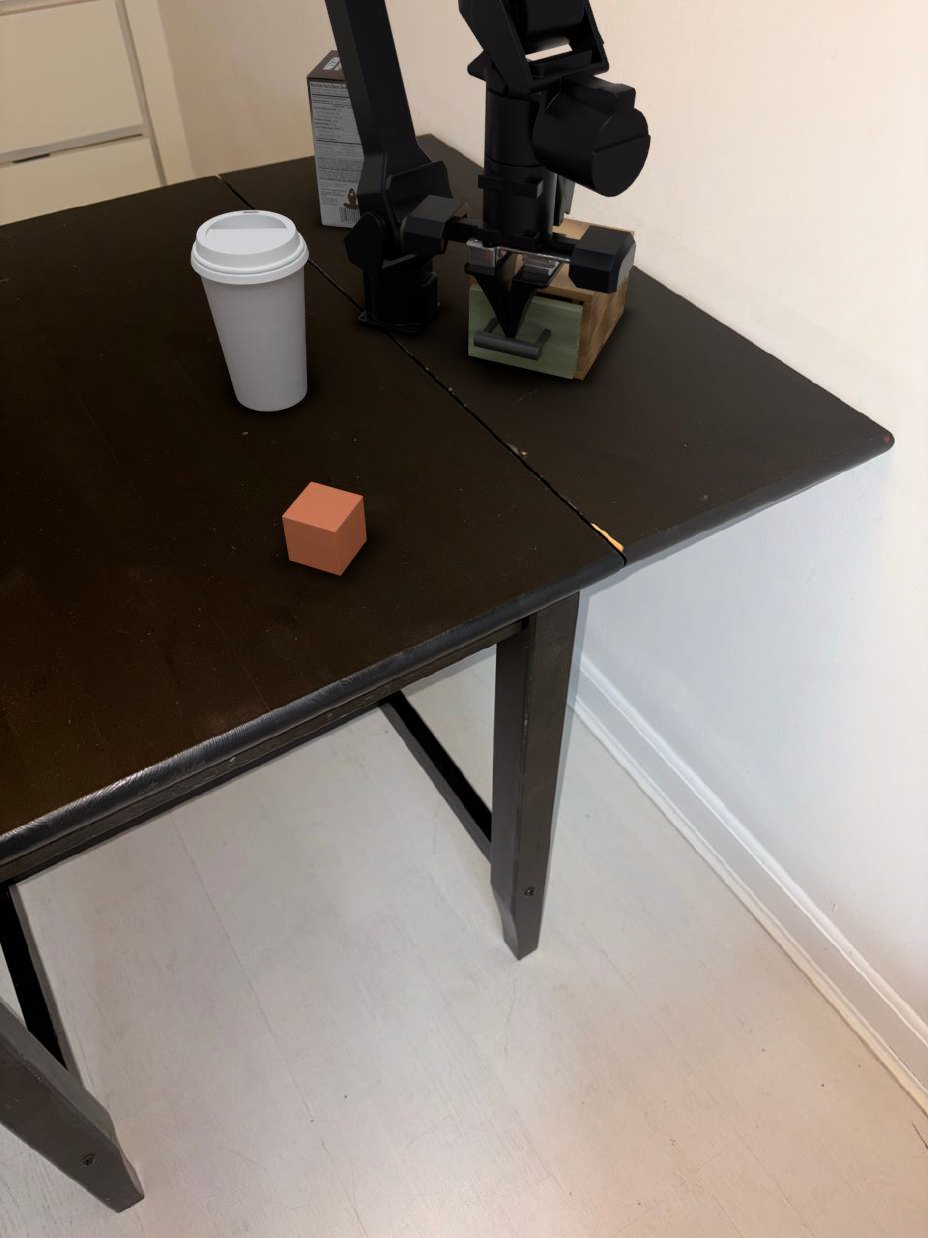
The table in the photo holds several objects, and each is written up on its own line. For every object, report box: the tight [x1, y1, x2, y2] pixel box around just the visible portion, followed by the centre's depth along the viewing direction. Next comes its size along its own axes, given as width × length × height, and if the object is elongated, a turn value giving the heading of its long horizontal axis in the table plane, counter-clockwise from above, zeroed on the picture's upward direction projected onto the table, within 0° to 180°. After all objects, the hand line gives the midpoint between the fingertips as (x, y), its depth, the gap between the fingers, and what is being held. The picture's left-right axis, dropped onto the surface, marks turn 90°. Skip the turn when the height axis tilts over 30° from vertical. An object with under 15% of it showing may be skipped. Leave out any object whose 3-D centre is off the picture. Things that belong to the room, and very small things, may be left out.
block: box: [281, 481, 368, 577], centre depth 71 cm, size 4×4×4 cm
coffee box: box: [305, 49, 364, 229], centre depth 108 cm, size 9×6×16 cm
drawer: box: [467, 283, 584, 380], centre depth 89 cm, size 17×10×7 cm, turn 157°
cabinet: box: [469, 217, 635, 381], centre depth 92 cm, size 14×12×9 cm
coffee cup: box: [190, 209, 310, 412], centre depth 82 cm, size 10×10×15 cm
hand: (512, 336), depth 84 cm, fingers closed, pressing on drawer
